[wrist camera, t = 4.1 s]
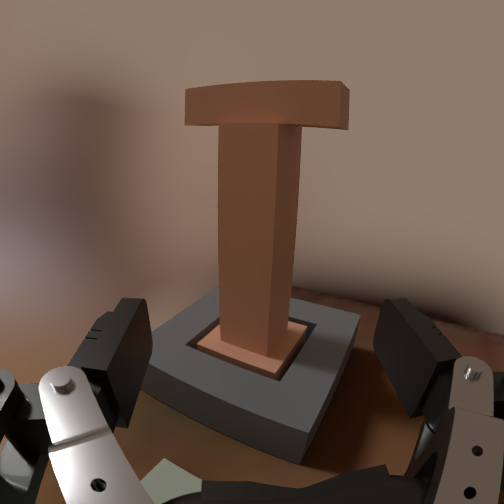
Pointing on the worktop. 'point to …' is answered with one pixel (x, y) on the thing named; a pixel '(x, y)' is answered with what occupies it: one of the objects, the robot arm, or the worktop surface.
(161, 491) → the mat
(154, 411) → the worktop surface
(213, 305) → the socket block
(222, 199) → the t key
